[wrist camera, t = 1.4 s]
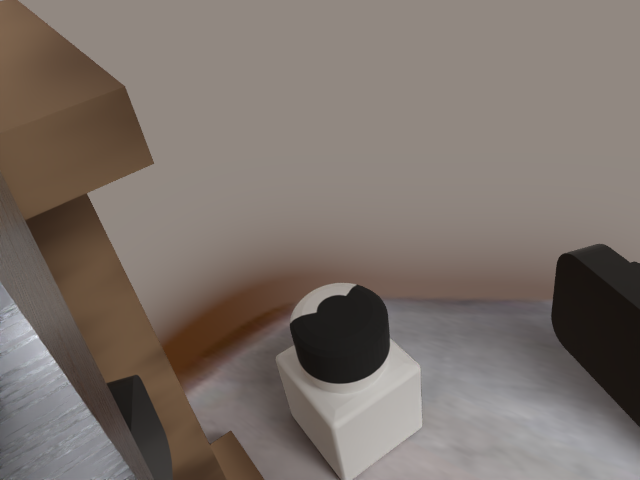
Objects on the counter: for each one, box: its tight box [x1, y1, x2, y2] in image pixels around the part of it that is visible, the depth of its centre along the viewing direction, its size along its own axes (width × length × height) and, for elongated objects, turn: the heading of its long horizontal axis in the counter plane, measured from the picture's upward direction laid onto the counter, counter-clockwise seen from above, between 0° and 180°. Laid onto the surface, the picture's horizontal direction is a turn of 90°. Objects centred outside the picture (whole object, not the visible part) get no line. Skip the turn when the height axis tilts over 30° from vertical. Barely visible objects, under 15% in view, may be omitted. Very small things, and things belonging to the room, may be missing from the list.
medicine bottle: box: [276, 283, 423, 480], centre depth 37 cm, size 7×7×12 cm
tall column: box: [0, 0, 264, 480], centre depth 25 cm, size 12×12×32 cm
